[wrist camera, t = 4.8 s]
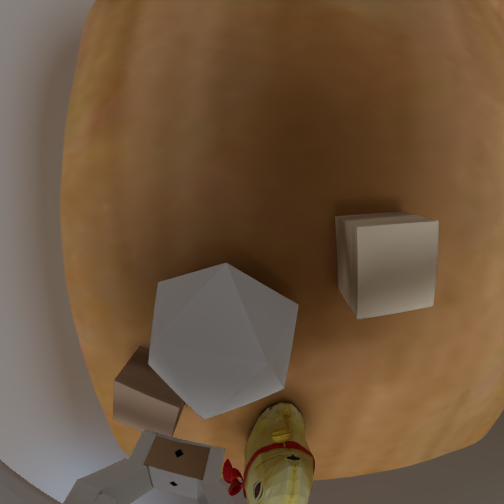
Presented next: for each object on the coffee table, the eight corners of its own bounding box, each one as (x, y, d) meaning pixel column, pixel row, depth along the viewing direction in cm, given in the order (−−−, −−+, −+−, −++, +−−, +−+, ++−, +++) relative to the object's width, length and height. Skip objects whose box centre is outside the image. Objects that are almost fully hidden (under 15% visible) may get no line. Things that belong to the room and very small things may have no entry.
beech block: (334, 216, 18) (356, 226, 13) (401, 211, 18) (438, 221, 13) (337, 287, 19) (356, 319, 14) (400, 279, 19) (433, 306, 14)
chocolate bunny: (320, 392, 21) (346, 553, 7) (287, 459, 24) (288, 577, 9) (240, 381, 21) (210, 552, 7) (224, 451, 24) (201, 571, 9)
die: (153, 265, 20) (110, 394, 14) (221, 198, 14) (164, 399, 8) (242, 312, 24) (222, 427, 18) (326, 273, 18) (322, 430, 12)
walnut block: (140, 345, 21) (114, 380, 16) (195, 367, 21) (179, 407, 17) (134, 384, 23) (113, 419, 18) (184, 404, 23) (169, 443, 18)
